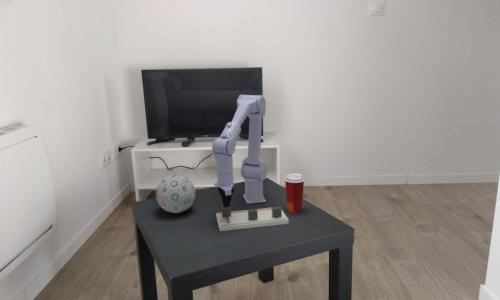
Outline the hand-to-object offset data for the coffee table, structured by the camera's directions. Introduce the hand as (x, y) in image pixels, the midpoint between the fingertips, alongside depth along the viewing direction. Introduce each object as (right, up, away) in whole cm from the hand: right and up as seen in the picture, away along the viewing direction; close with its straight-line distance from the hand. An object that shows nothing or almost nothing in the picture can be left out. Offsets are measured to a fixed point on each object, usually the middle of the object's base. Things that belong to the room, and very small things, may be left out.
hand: (226, 206), depth 137 cm
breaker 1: (0, -4, +3) cm, 4 cm away
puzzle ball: (-20, -4, +12) cm, 24 cm away
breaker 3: (+18, -3, +1) cm, 19 cm away
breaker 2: (+9, -4, 0) cm, 10 cm away
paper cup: (+26, -3, +10) cm, 28 cm away
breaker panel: (+9, -5, +2) cm, 11 cm away
